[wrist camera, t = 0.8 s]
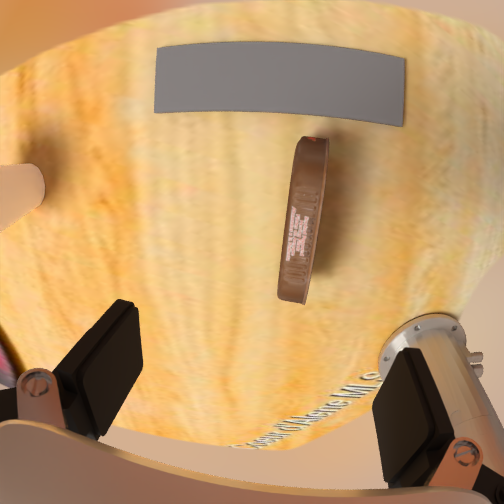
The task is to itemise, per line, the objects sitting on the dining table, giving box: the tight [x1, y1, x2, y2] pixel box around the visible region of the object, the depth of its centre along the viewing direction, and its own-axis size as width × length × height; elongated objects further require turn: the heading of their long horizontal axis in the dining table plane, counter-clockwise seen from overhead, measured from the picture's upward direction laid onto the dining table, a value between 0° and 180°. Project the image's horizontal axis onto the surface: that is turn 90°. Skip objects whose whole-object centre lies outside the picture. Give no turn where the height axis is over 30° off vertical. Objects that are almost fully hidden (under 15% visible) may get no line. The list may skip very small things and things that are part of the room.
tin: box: [277, 136, 329, 305], centre depth 28 cm, size 15×3×8 cm, turn 175°
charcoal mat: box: [154, 42, 404, 127], centre depth 26 cm, size 24×7×1 cm, turn 88°
